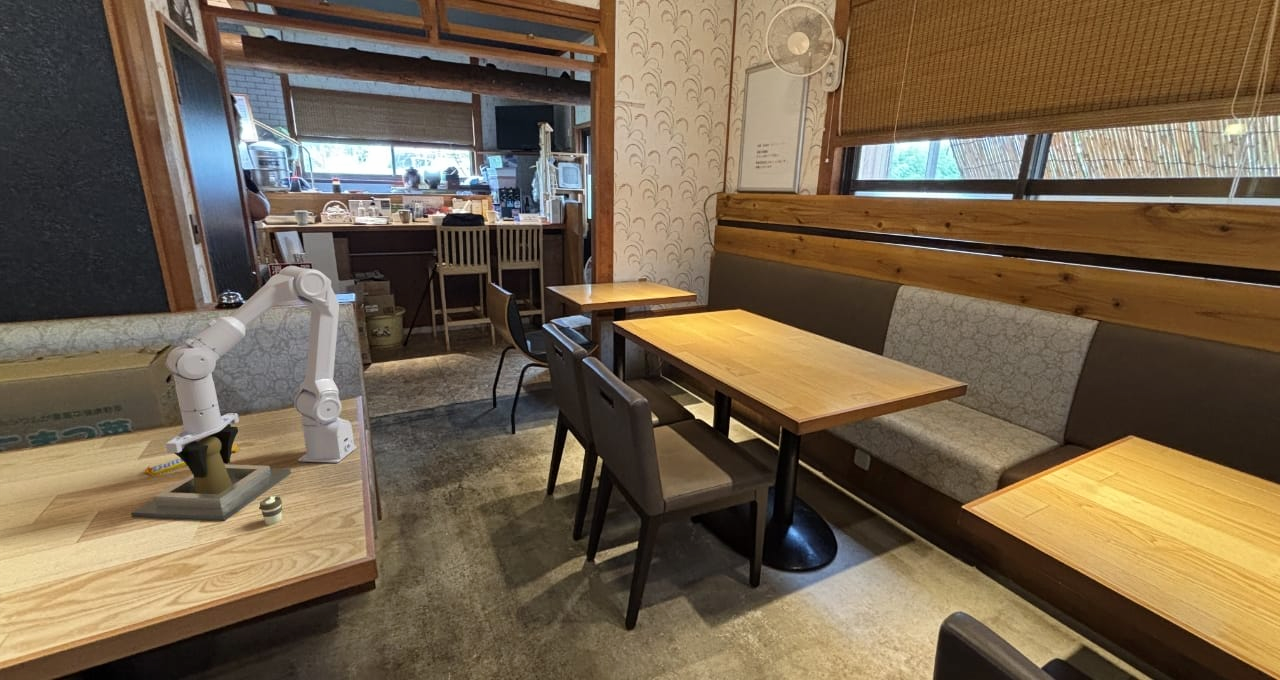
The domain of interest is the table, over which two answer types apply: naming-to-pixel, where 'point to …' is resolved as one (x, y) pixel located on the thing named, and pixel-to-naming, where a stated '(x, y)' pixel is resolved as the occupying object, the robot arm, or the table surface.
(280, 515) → the coffee cup
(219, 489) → the brown rounded piece
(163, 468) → the candy bar
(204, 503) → the socket board
